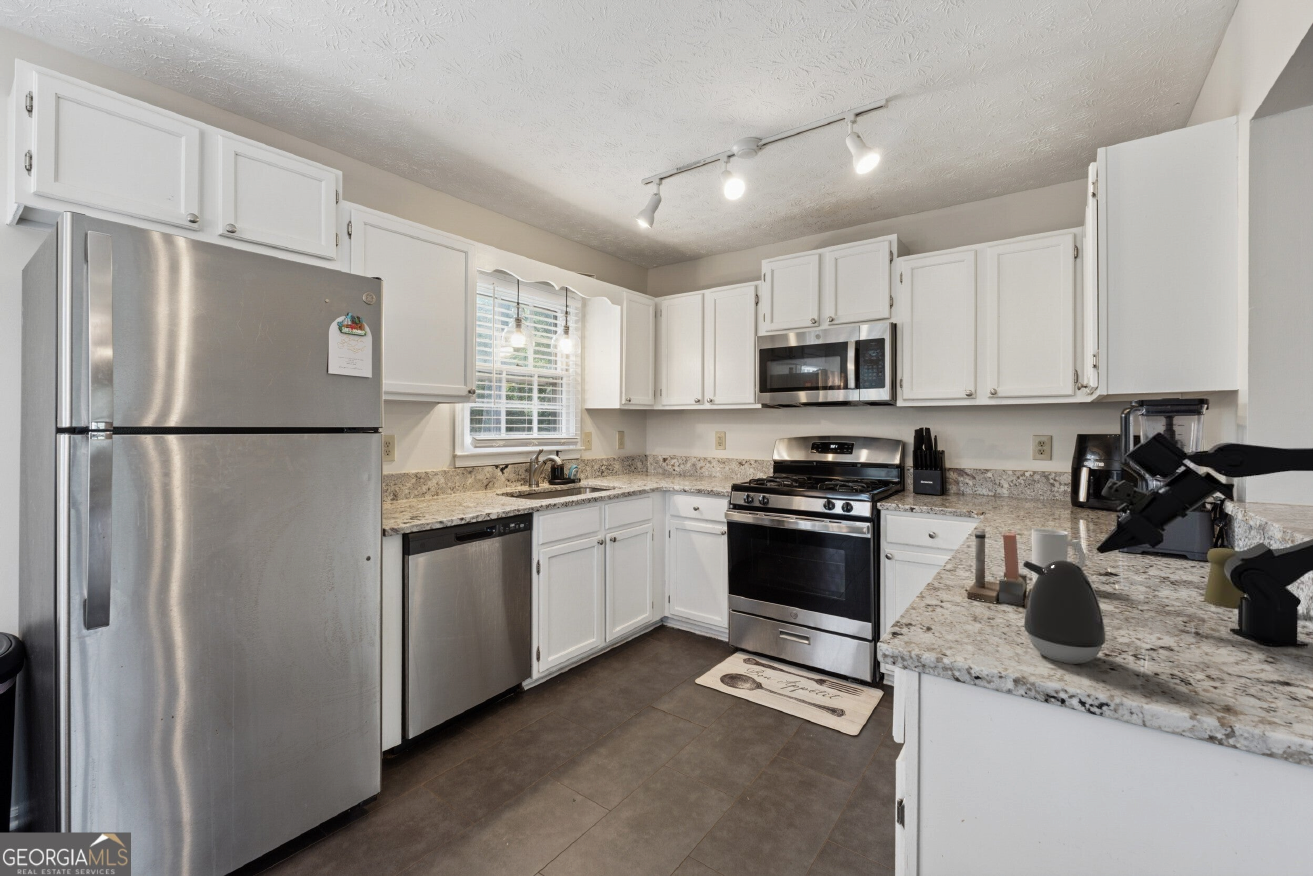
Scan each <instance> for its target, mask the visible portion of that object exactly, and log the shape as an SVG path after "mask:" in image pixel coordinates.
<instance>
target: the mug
mask: <svg viewBox="0 0 1313 876" xmlns="http://www.w3.org/2000/svg"><path fill="white" fill-rule="evenodd" d="M1069 547H1072V548H1073V549H1075V551H1076V552H1077V554H1078V563H1077V564H1076V565H1077V566H1079V567H1080V568H1081V569H1082V570H1083V568H1084V566H1085V563H1086V553H1085V551H1084V548H1083V547H1082V544H1081V541H1080V540H1078V539H1077V540H1076V539H1073V540H1069V532H1067V531H1064V530H1058V529H1053V528H1052V529H1049V528H1034V529H1031V563H1033V564H1036V565H1038V566H1041V567H1045V566H1046V565H1048V564H1049V563H1051V562H1053V561H1057V560H1065V561H1068V560H1069V559H1068V558H1069V557H1068V555H1069V553H1068V552H1069ZM1031 572H1032V575H1031V576H1032V583H1033V584H1034V583H1035V581H1036V580H1037V578H1038V576H1039V575H1038V574H1036V573H1034V572H1033V571H1031Z"/></svg>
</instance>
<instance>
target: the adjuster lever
mask: <svg viewBox="0 0 1313 876" xmlns="http://www.w3.org/2000/svg"><path fill="white" fill-rule="evenodd" d="M1002 540H1003V555H1004V568H1005V571H1004V572H1006V578H1005V580H1012V581H1019V582H1023V593H1024V591H1025V588H1026V584H1025V582H1024V580H1023V579H1022V578H1020V577H1019V574H1020V571H1019V568H1020V567H1019V557H1018V555H1019V553H1018V541H1017V540H1018V539H1017V533H1016V532H1004V534H1003V535H1002Z"/></svg>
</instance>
